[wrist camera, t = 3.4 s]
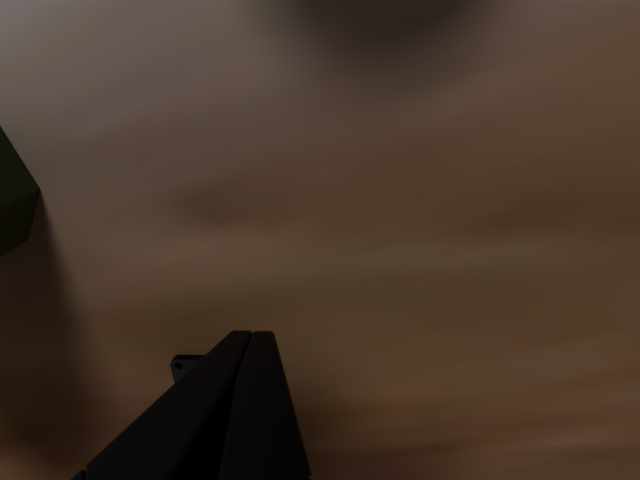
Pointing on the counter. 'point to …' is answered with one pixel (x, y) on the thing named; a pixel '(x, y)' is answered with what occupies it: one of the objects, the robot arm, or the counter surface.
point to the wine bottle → (14, 197)
